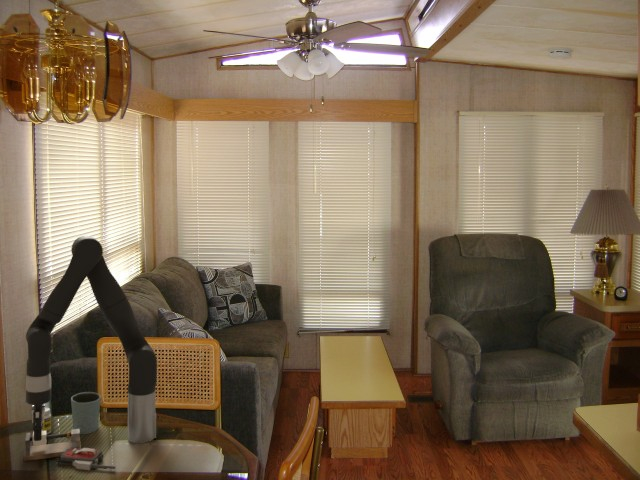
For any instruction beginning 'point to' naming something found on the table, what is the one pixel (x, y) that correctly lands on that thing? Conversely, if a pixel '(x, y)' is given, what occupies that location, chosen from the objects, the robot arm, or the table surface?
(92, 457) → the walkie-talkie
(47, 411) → the supplement bottle
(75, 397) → the blue-grey cylindrical pot
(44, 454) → the linear slider rail
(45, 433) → the sleeve
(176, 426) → the table surface
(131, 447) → the table surface
